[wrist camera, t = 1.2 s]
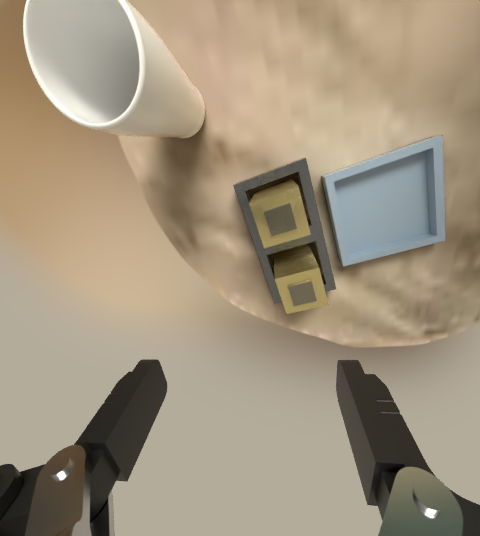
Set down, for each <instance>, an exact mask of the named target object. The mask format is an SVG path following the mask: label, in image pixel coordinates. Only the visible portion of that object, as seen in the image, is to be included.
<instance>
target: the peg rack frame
mask: <svg viewBox="0 0 480 536" xmlns="http://www.w3.org/2000/svg"><path fill="white" fill-rule="evenodd" d="M296 172H297V176H298V180H299V184H300V188H301V192H302V196H303V200H304V204H305V208H306V212H307V216H308V220H307V222H308V226H309V229H310V233H311V235H308V236H305V237H301V238H298V239H294V240H291V241H288V242H284V243H281V244H278V245H274V246H271V247H267V248H264V246H263V243H262V240H261V237H260V235H259V232H258V229H257V226H256V223H255V220H254V217H253V214H252V211H251V208H250V205H249V203H250V201H251V199H250V196H249V193H248V190H250V189H252V188H255V187H258V186H260V185H263V184H266V183H269V182H271V181H274V180H277V179H279V178H282V177H285V176H288V175H290V174H293V173H296ZM233 186H234V189H235V191H236V194H237V197H238V200H239V203H240V206H241V208H242V211H243V214H244V217H245V220H246V223H247V225H248V228H249V231H250V234H251V237H252V240H253V243H254V245H255V248H256V251H257V254H258V257H259V260H260V262H261V265H262V268H263V271H264V274H265V277H266V280H267V282H268V285H269V288H270V291H271V294H272V297H273V299H274V302H275V303H279V302H282V299H281V296H280V293H279V291H278V288H277V285H276V282H275V273H274V268H273V265H272V262H271V259H270V256H269V254H273V253H276V252H279V251H283V250H286V249H290V248H293V247H297V246H300V245H304V244H307V243H311V242H314V244H315V248H316V252H317V256H318V260H319V264H320V268H321V272H322V276H321V277H322V280H323V284H324V288H325V292H326V291H330V290H335V289H336V287H335V282H334V278H333V274H332V269H331V265H330V261H329V256H328V252H327V248H326V243H325V239H324V235H323V230H322V226H321V222H320V217H319V213H318V209H317V204H316V200H315V196H314V191H313V187H312V183H311V178H310V174H309V170H308V165H307V161H306V158H302V159H299V160H297V161H294V162H292V163H289V164H286V165H284V166H281V167H278V168H276V169H273V170H271V171H268V172H265V173H263V174H260V175H257V176H255V177H252V178H250V179H247V180H244V181H242V182H239V183H236V184H235V185H233Z"/></svg>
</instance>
